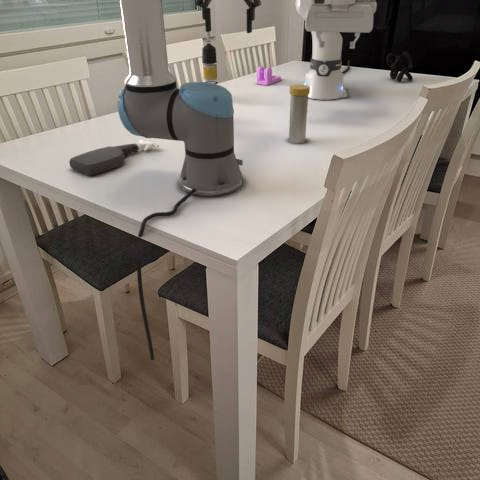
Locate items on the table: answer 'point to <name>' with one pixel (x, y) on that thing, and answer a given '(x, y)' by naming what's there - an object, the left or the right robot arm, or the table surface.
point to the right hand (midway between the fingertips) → (336, 47)
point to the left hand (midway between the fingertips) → (228, 32)
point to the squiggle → (399, 66)
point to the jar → (298, 118)
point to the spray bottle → (106, 157)
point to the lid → (299, 90)
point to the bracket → (266, 76)
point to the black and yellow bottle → (209, 61)
